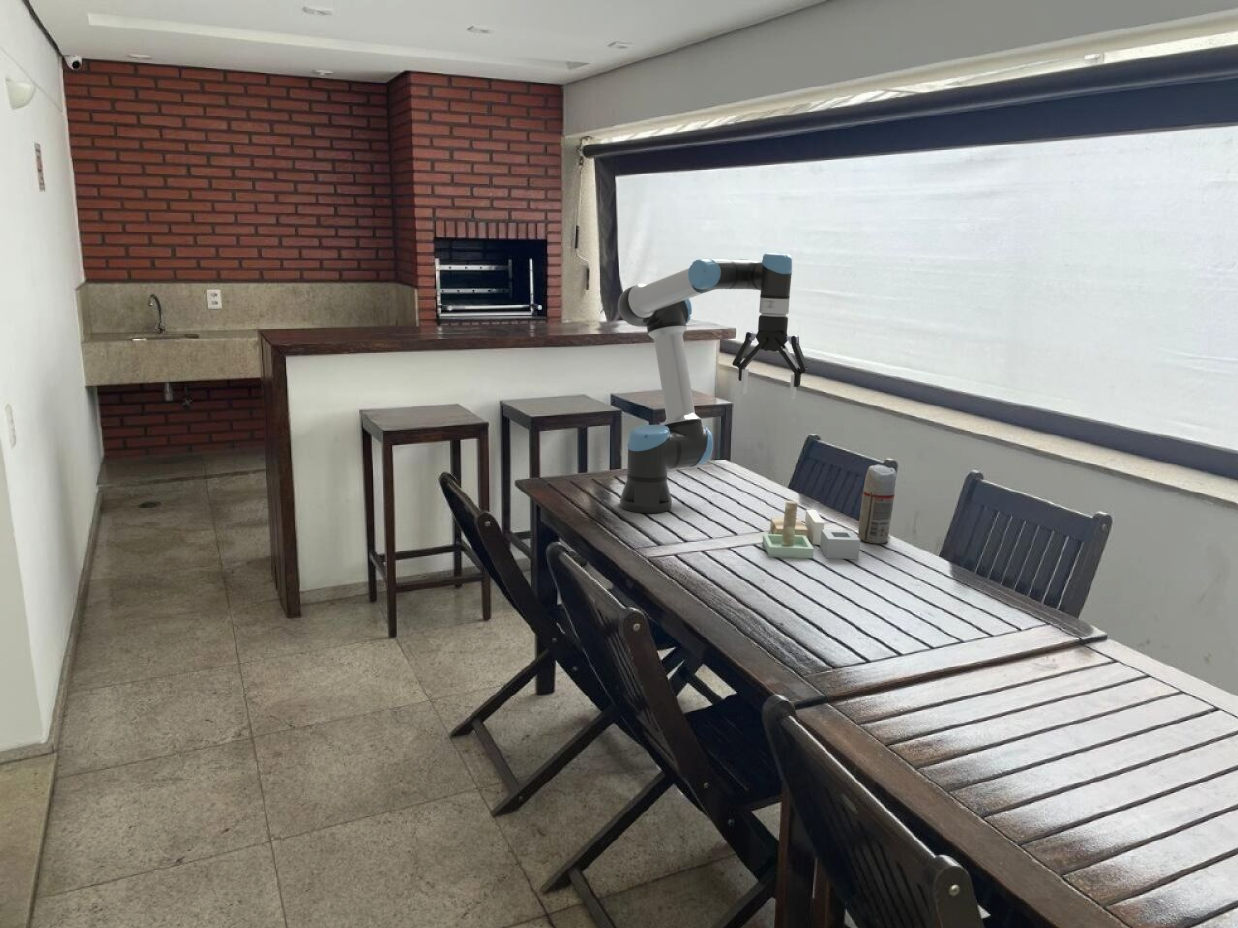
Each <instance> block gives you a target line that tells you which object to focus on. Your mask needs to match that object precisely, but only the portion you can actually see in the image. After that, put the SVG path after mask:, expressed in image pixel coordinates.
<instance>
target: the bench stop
mask: <svg viewBox="0 0 1238 928" xmlns="http://www.w3.org/2000/svg"><path fill="white" fill-rule="evenodd" d="M804 525H805V526H806V528H807V529H808V534H807V538H808V540H809V542H810V543H811V545H818V546H820V543H821V531H822V530H825V521H824V520H823V519H822V517H821V515H819V512H817V510H816V509H805V519H804Z"/></svg>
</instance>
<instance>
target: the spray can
mask: <svg viewBox="0 0 1238 928" xmlns="http://www.w3.org/2000/svg"><path fill="white" fill-rule="evenodd" d="M897 476H898V475H897V472H896V470H895V469H894V468H893V467H887V466H886V465H883V464H879V463H878V464H874V465H870V466H869V467H868V469H867V471H866V475H865V479H864V485H863V490H862V496H861V503H860V512H859V519H858V533H857V537H858V538H859V539H860V541H862V542H865V543H871V544H885V543H887V542H888V541H887V540H888V538H889V533H890V526H891V520H892V513H893V507H894V501H895V495H896V494H895V492H896V481H897Z"/></svg>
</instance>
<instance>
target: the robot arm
mask: <svg viewBox="0 0 1238 928" xmlns="http://www.w3.org/2000/svg"><path fill="white" fill-rule="evenodd" d="M792 274H793V258H792V256H791V255H790V254H787V253H785V254H784V253H764V254H763V256H762V260H755V259H748V258H747V259H717V258H715V259H713V258H703V259H702V258H701V259H696V260H694V261H693V262H692V264H691V265H690V266H689V268H686V269H683V270H680V271H679V272H675V273H672V274H671V275H668V276H666V277H663V278H660V279H658V280H656V281H653V282H651V283H648V284H643V283H639V284H635V285H633V286H630V287H628V288H626V289H625V290H623V291H622V293H621V294H620V296H619V298H618V299H617V300H618V302H617V310H618V314H619V316H620V317H621V318H622V319H623V321H625V322H626V323H627V324H628V325H631V326H634V327H646V329H647V330H646V331H647V335H648V336H649V337H650V338H651V339H652V340H653V343H654V347H655V353H656V360H657V366H658V371H659V372H658V373H659V380H660V386H661V392H662V393H661V394H662V397H663V404H664V405H663V406H664V411H665V412H664V413H665V417H666V418H665V421H664V422H663V423H662V424H647V425H646V424H645V425H641V426H636V427H634V428H633V429H631V431H630V432H629V434H628V442H627V463H626V465H627V466H626V467H627V468H626V480H625V484H624V486H623V490H622V492H621V495H620V498H619V507H620V508H621V509H623V510H627V511H628V512H633V513H640V514H659V513H665V512H668V511H670V510H672V508H673V507H672V505H673V499H672V495H671V492H670V487H669V484H668V470H674V469H682V468H692V467H695V466H701V465H703V464H705V463H706V462H707V461H708V460H709V459H710V457H711V455H712V453H713V448H714V438H713V435H712V432H711V431H710V429H709V428H708V427H707V426H705V425H703V423H702V421H703V420H702V418H701V417H699V416H698V415H697V414H696V412H695V406H694V405H695V404H694V399H693V392H692V386H691V380H690V373H689V367H688V362H687V354H686V348H685V343H684V333H685V331H686V330H687V324H688V323H689V322H690V320H691V318H692V316H691V315H692V313H693V310H692V309H693V308H692V302H691V298H694V297H697V296H699V295H703V294H705V293H708V292H711V291H715V290H755V291H760V295H759V297H760V298H759V311H758V312H759V314H761V315H758V323H757V332H753V331H747V332H745V337H744V341H743V343H742V344H741V346H740V348H739V350H738V351H737V354H736V356H735V357H734V359H733V361H732V362H731V363H732V366H733V367H736V368H738V381H739V382H740V383H741V384H740V395H745V394H747V393H748V384H749V383H748V382H749V372H750V371H749V368H747V367H748V365H750V364H751V362H753V360H754V359H755V358H756V357H757V356H758V355H759V354H761V352H762V351H764V352H767V351H770V352H774V353H776V352H778V353H779V354H780V355H781V356H782V357H783V359H784V360H785V362H786V364H788V367H790V369H791V371H792V374H790V384H789V397H788V398H789V399H788V400H789V401H793V400H796V397H797V388H799V387H800V386H801V380H802V379H801V378H802V374H805V373H808V372H809V371H810V370H809V367H808V364H807V362H806V358H805V356H804V354H803V353H804V352H803V351H802V348H801V346H800V336H799V335H788V324H789V317H788V316H787V315H789V311H790V297H791V283H792V276H793V275H792ZM755 339H756V341H757V342H758V344H757V345H756V346H754V347H753V350H752V351H751V352H749V354H748V355H747V356H746V354H747V352H748V350H749V348H750V346H751V345H752V343H753V341H755ZM787 342H788V343H789V345H791V348H792V349H791V350H792V352H793V353H794V356H795V359H796V360H795V359H794V358H793V355H791V353H790V352H789V349H788V347H787V345H786V343H787ZM745 356H746V357H745ZM744 357H745V358H744Z"/></svg>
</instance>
